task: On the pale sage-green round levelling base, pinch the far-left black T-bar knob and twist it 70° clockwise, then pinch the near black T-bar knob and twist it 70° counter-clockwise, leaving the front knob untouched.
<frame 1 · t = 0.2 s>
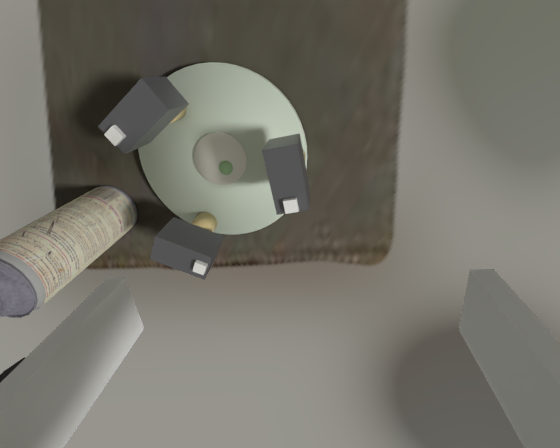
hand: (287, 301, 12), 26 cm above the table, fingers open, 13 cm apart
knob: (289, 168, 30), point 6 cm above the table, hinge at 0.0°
aerosol can: (113, 208, 42), on the table
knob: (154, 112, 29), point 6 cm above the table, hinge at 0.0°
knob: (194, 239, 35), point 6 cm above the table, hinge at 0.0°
levelling base: (224, 155, 37), on the table
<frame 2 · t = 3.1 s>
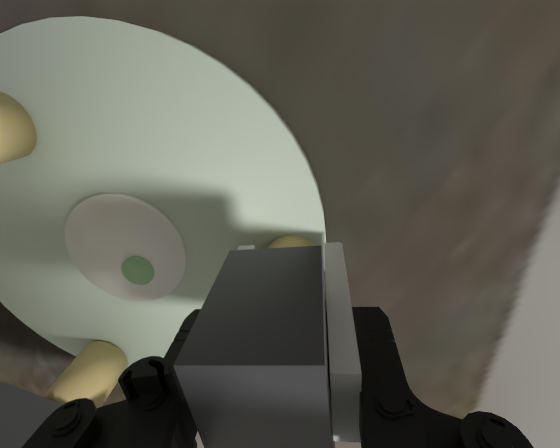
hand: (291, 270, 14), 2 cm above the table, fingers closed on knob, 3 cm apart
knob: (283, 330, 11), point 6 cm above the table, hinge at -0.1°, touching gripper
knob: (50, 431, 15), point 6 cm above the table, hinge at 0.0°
levelling base: (143, 235, 17), on the table
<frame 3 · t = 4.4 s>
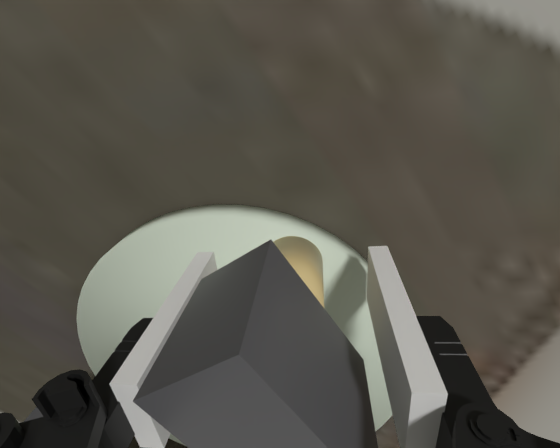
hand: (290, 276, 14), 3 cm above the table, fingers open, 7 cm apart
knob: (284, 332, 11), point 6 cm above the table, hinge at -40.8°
levelling base: (243, 347, 20), on the table
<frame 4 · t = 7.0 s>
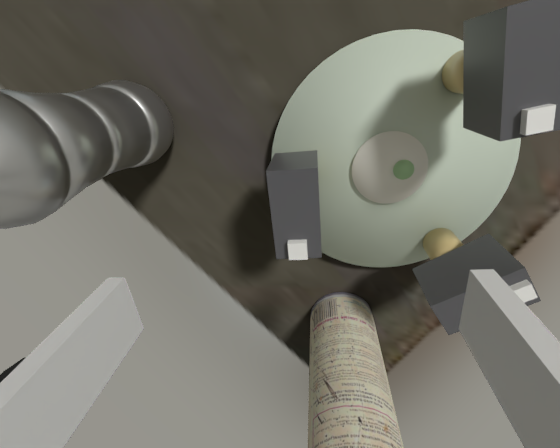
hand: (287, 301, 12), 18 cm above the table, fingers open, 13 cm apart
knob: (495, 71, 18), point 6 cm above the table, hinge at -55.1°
aerosol can: (340, 315, 35), on the table
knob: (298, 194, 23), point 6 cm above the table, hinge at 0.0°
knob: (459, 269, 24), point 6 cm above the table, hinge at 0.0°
levelling base: (384, 163, 27), on the table
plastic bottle: (146, 119, 28), on the table
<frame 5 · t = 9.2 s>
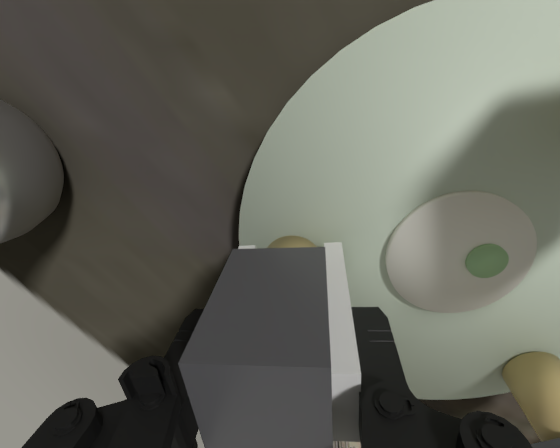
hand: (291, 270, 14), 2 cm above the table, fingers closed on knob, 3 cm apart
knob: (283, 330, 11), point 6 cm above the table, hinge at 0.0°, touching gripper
levelling base: (442, 238, 15), on the table
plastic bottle: (23, 154, 16), on the table
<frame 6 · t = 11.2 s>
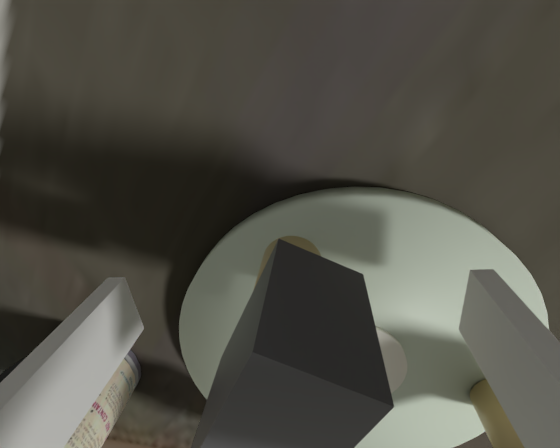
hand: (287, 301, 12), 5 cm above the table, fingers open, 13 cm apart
aerosol can: (96, 359, 22), on the table
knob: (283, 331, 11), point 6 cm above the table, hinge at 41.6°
levelling base: (347, 341, 19), on the table
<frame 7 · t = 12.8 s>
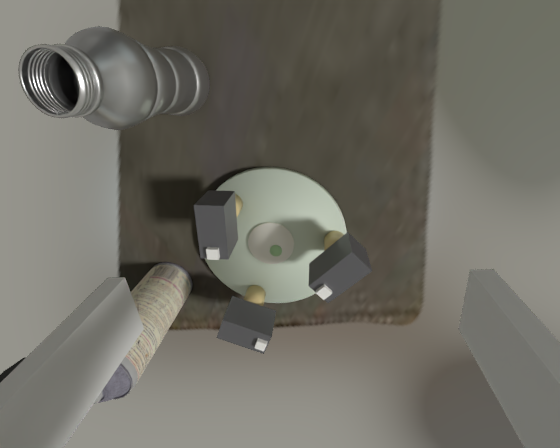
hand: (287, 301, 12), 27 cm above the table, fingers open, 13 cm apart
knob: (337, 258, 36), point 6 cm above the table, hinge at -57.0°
aerosol can: (171, 280, 47), on the table
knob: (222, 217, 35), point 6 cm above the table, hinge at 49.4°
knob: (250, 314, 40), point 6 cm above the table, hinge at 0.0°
levelling base: (272, 237, 42), on the table
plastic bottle: (187, 82, 35), on the table
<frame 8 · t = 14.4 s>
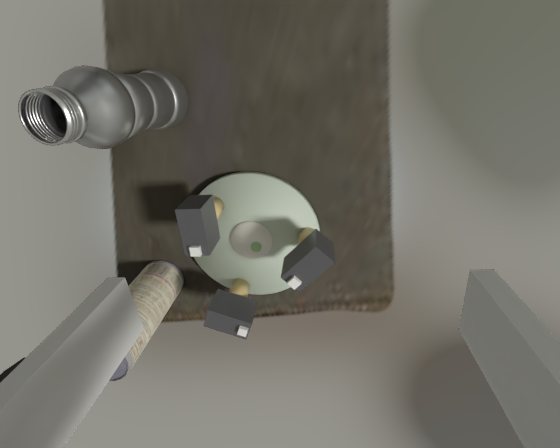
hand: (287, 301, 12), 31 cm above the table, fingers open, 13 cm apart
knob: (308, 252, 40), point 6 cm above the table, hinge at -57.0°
aerosol can: (164, 276, 52), on the table
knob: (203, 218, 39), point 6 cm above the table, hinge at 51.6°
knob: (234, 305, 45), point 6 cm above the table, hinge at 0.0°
levelling base: (253, 235, 46), on the table
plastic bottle: (169, 98, 39), on the table
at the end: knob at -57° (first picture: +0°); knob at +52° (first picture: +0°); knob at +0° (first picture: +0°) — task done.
